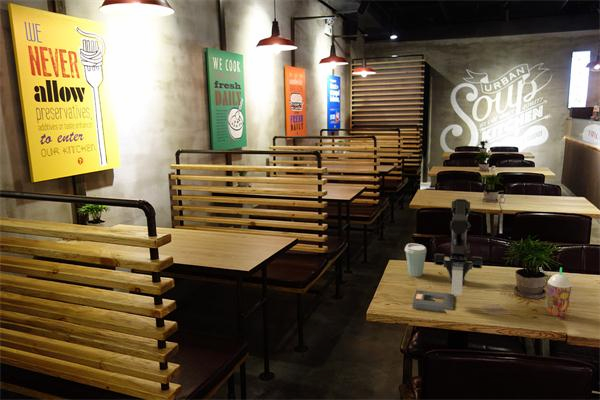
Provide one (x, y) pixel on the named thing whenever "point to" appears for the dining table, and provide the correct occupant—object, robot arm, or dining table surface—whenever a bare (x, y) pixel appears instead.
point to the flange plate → (432, 301)
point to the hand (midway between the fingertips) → (457, 280)
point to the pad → (494, 309)
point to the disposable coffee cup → (415, 259)
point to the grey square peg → (457, 278)
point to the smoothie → (558, 294)
